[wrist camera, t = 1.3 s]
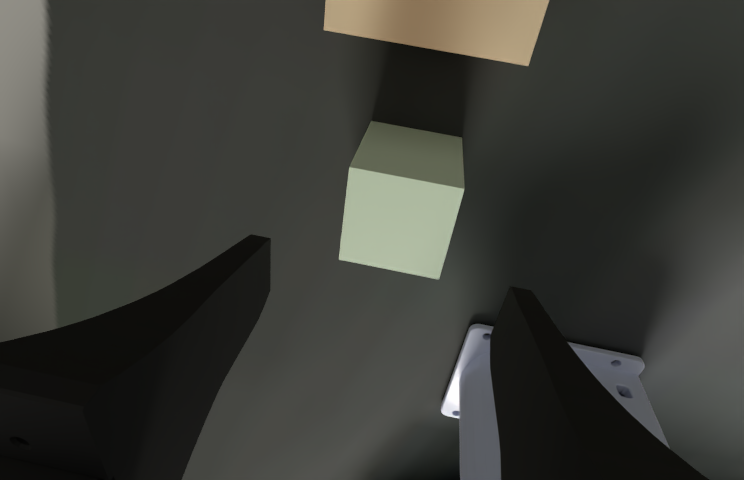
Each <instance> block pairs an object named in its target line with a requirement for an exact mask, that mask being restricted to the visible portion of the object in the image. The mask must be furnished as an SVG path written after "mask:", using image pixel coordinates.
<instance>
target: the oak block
mask: <svg viewBox="0 0 744 480" xmlns="http://www.w3.org/2000/svg"><path fill="white" fill-rule="evenodd" d="M548 3H549V0H326V4H325V19H324V30H326V31H332V32H338V33H343V34H349V35H355V36H360V37H366V38H372V39H377V40H383V41H389V42H394V43H400V44H406V45H411V46H417V47H423V48H428V49H434V50H440V51H445V52H451V53H457V54H463V55H468V56H474V57H480V58H485V59H491V60H497V61H502V62H508V63H514V64H519V65H525V66H528V65H529V62H530V59H531V56H532V53H533V50H534V46H535V43H536V40H537V37H538V34H539V31H540V28H541V24H542V21H543V18H544V15H545V12H546V9H547V6H548Z"/></svg>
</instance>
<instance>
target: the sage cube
mask: <svg viewBox="0 0 744 480" xmlns="http://www.w3.org/2000/svg"><path fill="white" fill-rule="evenodd" d="M464 189H465V186H464V167H463V147H462V137H456V136H451V135H445V134H440V133H434V132H429V131H424V130H418V129H413V128H407V127H402V126H397V125H391V124H386V123H380V122H375V121H371V122H370V124H369V126H368V129H367V131H366V133H365V135H364V137H363V139H362V141H361V143H360V146H359V148H358V150H357V152H356V154H355V156H354V158H353V160H352V163H351V165H350V167H349V175H348V183H347V192H346V201H345V209H344V218H343V227H342V235H341V244H340V253H339V260H344V261H349V262H354V263H359V264H364V265H369V266H374V267H379V268H384V269H389V270H394V271H399V272H404V273H409V274H414V275H419V276H424V277H429V278H434V279H439V278H440V274H441V271H442V267H443V264H444V260H445V257H446V253H447V249H448V246H449V242H450V239H451V235H452V232H453V228H454V225H455V221H456V218H457V214H458V211H459V207H460V204H461V200H462V197H463V193H464Z"/></svg>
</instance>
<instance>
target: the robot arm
mask: <svg viewBox="0 0 744 480" xmlns="http://www.w3.org/2000/svg"><path fill="white" fill-rule="evenodd" d="M270 243H271V238H266V237H261V236H256V235H249V236H248V237H246V238H245V239H243V240H242V241H240V242H239V243H237V244H235V245H234V246H232V247H231V248H229V249H228V250H227V251H225V252H223V253H222V254H220V255H219V256H217V257H216V258H214V259H213V260H211V261H210V262H208V263H206V264H205V265H203V266H202V267H200V268H199V269H197V270H195V271H193V272H192V273H190V274H188V275H186V276H185V277H183V278H181V279H179V280H178V281H176V282H174V283H172V284H170V285H168V286H167V287H165V288H163V289H161V290H159V291H157V292H154V293H152V294H150V295H148V296H146V297H144V298H141V299H139V300H137V301H135V302H132V303H130V304H127V305H125V306H122V307H119V308H117V309H114V310H112V311H109V312H106V313H104V314H101V315H99V316H96V317H93V318H90V319H87V320H84V321H81V322H77V323H74V324H71V325H67V326H64V327H61V328H57V329H54V330H50V331H47V332H43V333H39V334H34V335H30V336H26V337H22V338H18V339H14V340H10V341H5V342H0V480H181V479H182V477H183V474H184V472H185V469H186V467H187V464H188V461H189V459H190V456H191V454H192V451H193V449H194V447H195V444H196V442H197V439H198V437H199V435H200V432H201V430H202V427H203V425H204V423H205V420H206V418H207V416H208V413H209V411H210V409H211V407H212V404H213V402H214V400H215V397H216V395H217V393H218V391H219V389H220V387H221V385H222V383H223V381H224V379H225V377H226V375H227V374H228V372H229V370H230V368H231V367H232V365H233V363H234V361H235V360H236V358H237V356H238V354H239V353H240V351H241V349H242V347H243V346H244V344H245V342H246V340H247V339H248V337H249V335H250V333H251V332H252V330H253V328H254V326H255V324H256V323H257V321H258V319H259V317H260V314H261V312H262V310H263V307H264V305H265V302H266V300H267V297H268V295H269V292H270ZM485 333H489V335H484V334H485ZM614 360H617V361H614ZM644 367H645V365H644V362H643V360H642V359H641V358H640V357H638V356H633V355H628V354H624V353H619V352H614V351H609V350H604V349H599V348H594V347H590V346H585V345H580V344H575V343H570V342H567V341H566V340H565V338H564V337H563V336H562V334H561V333H560V331H559V330H558V329H557V327H556V326H555V324H554V323H553V321H552V320H551V319H550V317H549V316H548V314H547V313H546V311H545V310H544V308H543V307H542V305H541V304H540V302H539V301H538V300H537V298H536V297H535V295H534V294H533V292H532V291H531V290H526V289H521V288H516V287H511V286H510V288H509V291H508V293H507V296H506V298H505V300H504V303H503V305H502V308H501V310H500V313H499V315H498V318H497V320H496V323H495V325H494V327H493V326H488V325H483V324H473V325H472V326H470V328H469V330H468V332H467V335H466V338H465V341H464V343H463V346H462V349H461V352H460V354H459V357H458V360H457V363H456V365H455V368H454V371H453V374H452V376H451V379H450V382H449V385H448V387H447V390H446V393H445V396H444V398H443V401H442V404H441V412H442V414H444V415H446V416H450V417H454V418H459V430H460V480H709V479H707V478H706V477H705V476H703V475H702V474H701V473H699V472H698V471H697V470H695V469H694V468H693V467H692V466H690V465H689V464H688V463H687V462H685V461H684V460H683V459H682V458H680V457H679V456H678V455H677V454H675V453H674V452H673V451H672V450H670V448H669V446H668V443H667V441H666V439H665V436H664V434H663V432H662V429H661V427H660V425H659V423H658V420H657V418H656V416H655V413H654V411H653V409H652V406H651V404H650V402H649V399H648V397H647V395H646V392H645V390H644V388H643V386H642V383H641V381H640V379H639V375H640V373H641V372H642V370H643V369H644Z"/></svg>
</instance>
